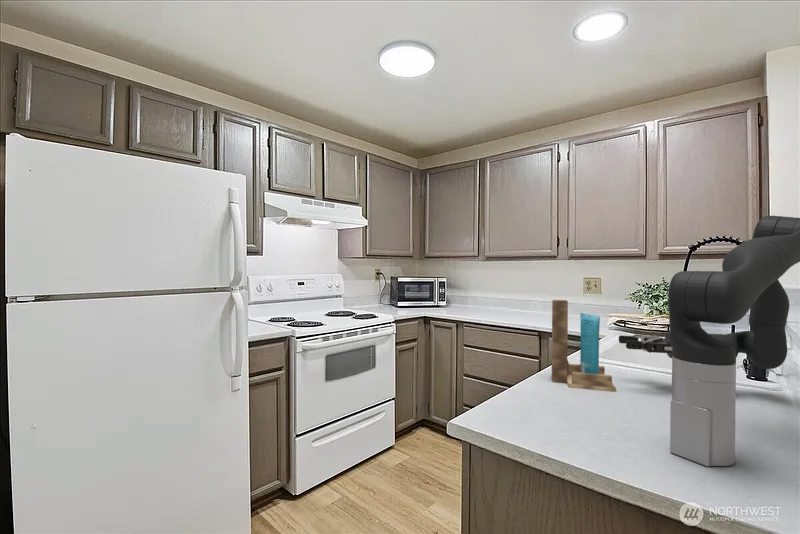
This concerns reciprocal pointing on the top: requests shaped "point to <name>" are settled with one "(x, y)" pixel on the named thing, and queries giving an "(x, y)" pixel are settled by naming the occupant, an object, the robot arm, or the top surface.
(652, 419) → the top surface
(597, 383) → the headboard bracket
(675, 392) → the robot arm
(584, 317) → the tube
